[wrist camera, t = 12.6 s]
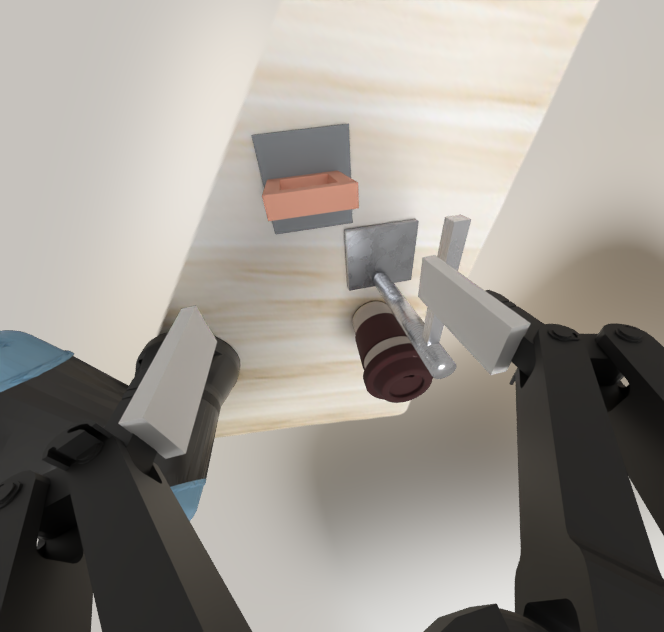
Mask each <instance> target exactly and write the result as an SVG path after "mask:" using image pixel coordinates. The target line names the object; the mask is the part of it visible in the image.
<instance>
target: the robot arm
mask: <svg viewBox="0 0 664 632" xmlns="http://www.w3.org/2000/svg"><path fill="white" fill-rule="evenodd" d="M418 297H419V298H420V299H421V300H422V301H423V302H424V303H425V305H426V306H427V307H428V308H429V309H430V310H431V311H432V312H433V313H434V314H435V315H436V316H437V318H438V319H439V320H440V321H441V322H442V323H443V324H444V325H445V326H446V327H447V328H448V329H449V330H450V332H451V333H452V334H453V335H454V336H455V337H456V338H457V339H458V340H459V341H460V342H461V343H462V345H463V346H464V347H465V348H466V349H467V350H468V351H469V352H470V353H471V354H472V355H473V357H474V358H475V359H476V360H477V361H478V362H479V363H480V364H481V365H482V366H483V367H484V368H485V369H486V371H487V372H488V373H489V374H490V375H493V374H497V373H501V372H505V371H507V369H508V367H509V365H510V363H511V361H512V362H513V363H514V364H515V365H516V366H517V367H518V368H517V370H516V372H515V373H514V375H513V377H512V379H511V381H510V384H511V385H513V383H514V381H516V411H517V443H518V473H519V507H520V539H521V556H520V561H519V564H518V567H517V570H516V576H515V612H511V611H508V610H504V609H499V608H498V605H497V604H490V605H482V606H475V607H469V608H466V609H463V610H460V611H457V612H454V613H451V614H448V615H445V616H442V617H439V618H438V619H437V620H435V621H434V622H433V623H432V624H431V625H430V626H429V627H428V628H427V629H426V630H425V631H424V632H664V579H663V578H662V576H661V573H660V571H659V569H658V566H657V563H656V560H655V557H654V554H653V551H652V548H651V545H650V542H649V538H648V536H647V532H646V529H645V526H644V524H643V520H642V517H641V514H640V511H639V508H638V505H637V502H636V498H635V495H634V492H633V489H632V486H631V483H630V480H629V478H630V479H631V481H632V483H633V485H634V486H635V488H636V490H637V491H638V493H639V495H640V496H641V498H642V500H643V501H644V503H645V505H646V507H647V508H648V510H649V512H650V513H651V515H652V517H653V518H654V520H655V522H656V523H657V525H658V527H659V528H660V530H661V532H662V533H663V535H664V347H663V346H662V345H661V344H660V343H659V342H658V341H656V340H655V339H654V338H653V337H652V336H650V335H649V334H648V333H646V332H644V331H642V330H640V329H638V328H636V327H633V326H629V325H624V324H608V325H605V326H604V327H603V328H602V329H601V331H600V332H599V333H598V334H579V333H577V332H576V331H575V330H573V329H570V328H568V327H566V326H562V325H558V324H543V323H542V322H540V321H539V320H537V319H536V318H534V317H533V316H532V315H530V314H529V313H527V312H526V311H524V310H523V309H521V308H519V307H517V306H516V305H515V304H514V303H512V302H509V300H508V299H507V298H505V297H504V296H502V295H501V294H498V293H496V292H493V291H490V290H486V291H485V290H483V289H482V288H480V287H479V286H477V285H476V284H475V283H473V282H472V281H471V280H469V279H468V278H466V277H465V276H464V275H462V274H461V273H459V272H458V271H456V270H455V269H454V268H452V267H451V266H449V265H448V264H447V263H445V262H444V261H442V260H441V259H440V258H438V257H437V256H435V255H433V256H428V257H423V259H422V267H421V276H420V285H419V293H418ZM73 355H74V353H73V352H71V351H66V350H65V351H64V350H61V349H59V348H57V347H55V346H53V345H51V344H49V343H47V342H45V341H43V340H41V339H38V338H36V337H34V336H32V335H30V334H27V333H24V332H21V331H13V330H4V331H0V632H91V617H92V600H93V599H92V598H93V593H94V598H95V602H96V607H97V611H98V615H99V619H100V624H101V628H102V632H252V631H251V629H250V627H249V626H248V623H247V622H246V620H245V618H244V616H243V615H242V613H241V611H240V609H239V608H238V606H237V604H236V602H235V601H234V599H233V597H232V595H231V593H230V592H229V590H228V588H227V586H226V585H225V583H224V581H223V579H222V578H221V576H220V574H219V573H218V571H217V569H216V567H215V565H214V564H213V562H212V560H211V558H210V556H209V555H208V553H207V551H206V550H205V548H204V546H203V544H202V542H201V541H200V539H199V538H198V536H197V534H196V532H195V530H194V528H193V527H192V525H191V523H190V520H191V519H192V518H193V516H194V514H195V512H196V511H197V508H198V504H199V500H200V496H201V493H202V489H203V486H204V485H205V483H206V477H207V472H208V467H209V461H210V457H211V452H212V447H213V442H214V437H215V432H216V427H217V422H218V417H219V413H220V408H221V406H222V404H223V403H224V401H225V400H226V398H227V396H228V395H229V393H230V391H231V390H232V388H233V387H234V385H235V384H236V382H237V379H238V375H239V370H240V361H239V358H238V355H237V354H236V352H235V351H234V350H233V349H232V348H231V347H230V346H229V345H228V344H227V343H225V342H224V341H222V340H220V339H218V338H216V337H214V335H213V334H212V332H211V330H210V328H209V327H208V325H207V323H206V322H205V320H204V318H203V317H202V315H201V313H200V312H199V310H198V308H197V306H196V305H195V306H191V307H186V308H181V310H180V312H179V314H178V316H177V318H176V319H175V321H174V323H173V325H172V327H171V329H170V330H169V332H168V333H165V334H162V335H160V336H157V337H155V338H154V339H152V340H151V341H150V342H149V343H148V344H147V345H146V346H145V348H144V349H143V351H142V352H141V354H140V355H139V357H138V360H137V363H136V372H135V377H134V379H133V380H132V382H131V383H130V385H129V386H128V385H126V384H124V383H122V382H121V381H119V380H117V379H115V378H113V377H111V376H109V375H107V374H106V373H104V372H102V371H100V370H98V369H96V368H94V367H92V366H91V365H89V364H87V363H85V362H83V361H81V360H79V359H78V358H76V357H74V356H73ZM623 377H625V378H626V379H627V380H628V382H629V385H628V386H627V387H626V386H624V385H623V383H622V382H621V381H620V380H621V379H622V378H623ZM628 476H629V477H628ZM37 538H38V539H39V541H38V545H37Z"/></svg>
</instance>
